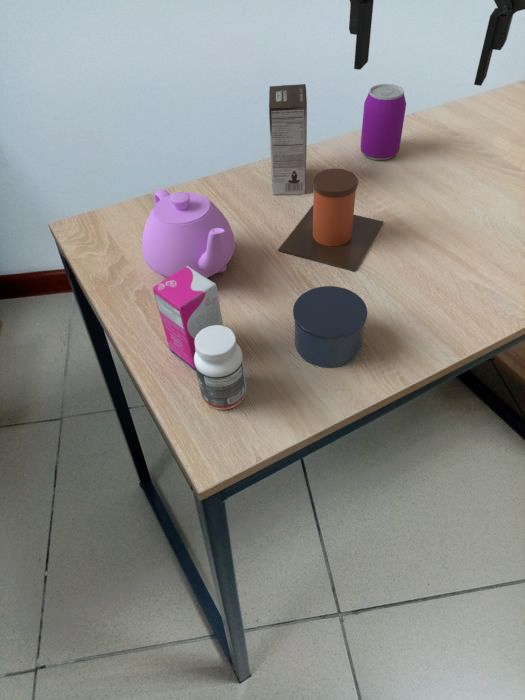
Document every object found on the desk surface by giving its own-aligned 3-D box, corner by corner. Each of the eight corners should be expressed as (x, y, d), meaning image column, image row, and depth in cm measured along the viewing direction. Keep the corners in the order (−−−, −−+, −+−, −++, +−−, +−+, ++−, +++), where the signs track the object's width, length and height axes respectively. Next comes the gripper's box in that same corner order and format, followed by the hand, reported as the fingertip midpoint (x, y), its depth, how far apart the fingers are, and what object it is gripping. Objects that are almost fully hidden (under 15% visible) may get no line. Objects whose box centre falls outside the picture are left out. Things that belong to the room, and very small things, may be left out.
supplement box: (200, 327, 75) (188, 263, 66) (228, 349, 72) (219, 284, 63) (167, 350, 72) (150, 286, 64) (195, 373, 69) (181, 308, 61)
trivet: (383, 223, 90) (383, 221, 89) (354, 271, 81) (354, 269, 81) (312, 206, 94) (312, 205, 94) (278, 251, 86) (278, 249, 86)
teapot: (268, 282, 81) (265, 211, 72) (188, 322, 76) (173, 252, 66) (201, 223, 92) (190, 156, 83) (127, 255, 87) (107, 187, 78)
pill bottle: (204, 375, 69) (193, 321, 61) (247, 375, 68) (241, 320, 61) (199, 411, 65) (186, 358, 58) (245, 411, 65) (238, 357, 57)
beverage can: (390, 165, 102) (399, 102, 94) (353, 157, 105) (358, 95, 96) (404, 148, 107) (413, 86, 98) (368, 140, 110) (374, 79, 101)
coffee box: (271, 170, 103) (268, 84, 92) (304, 169, 103) (305, 82, 91) (271, 195, 97) (268, 107, 85) (306, 194, 97) (308, 105, 85)
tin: (372, 330, 73) (377, 297, 68) (348, 378, 67) (351, 346, 63) (310, 310, 76) (310, 278, 72) (281, 355, 71) (280, 323, 66)
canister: (358, 228, 88) (364, 173, 81) (344, 251, 84) (348, 195, 77) (321, 219, 91) (323, 165, 83) (304, 241, 87) (305, 186, 79)
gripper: (630, -207, 42) (540, 74, 58) (337, -194, 51) (328, 48, 66) (625, -201, 38) (530, 101, 53) (305, -188, 46) (303, 70, 62)
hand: (418, 73), depth 60 cm, fingers open, 13 cm apart
